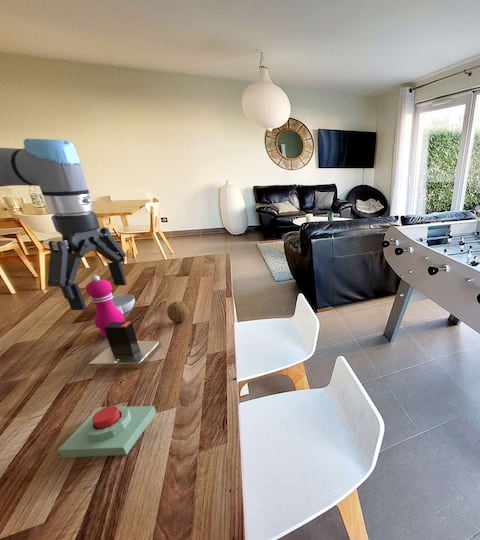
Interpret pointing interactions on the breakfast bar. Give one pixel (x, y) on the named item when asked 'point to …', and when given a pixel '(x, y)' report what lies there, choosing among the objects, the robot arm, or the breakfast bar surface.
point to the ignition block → (109, 434)
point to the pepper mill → (103, 303)
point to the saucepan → (123, 302)
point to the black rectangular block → (121, 337)
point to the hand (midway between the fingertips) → (101, 296)
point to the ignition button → (106, 417)
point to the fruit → (177, 311)
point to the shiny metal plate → (126, 357)
